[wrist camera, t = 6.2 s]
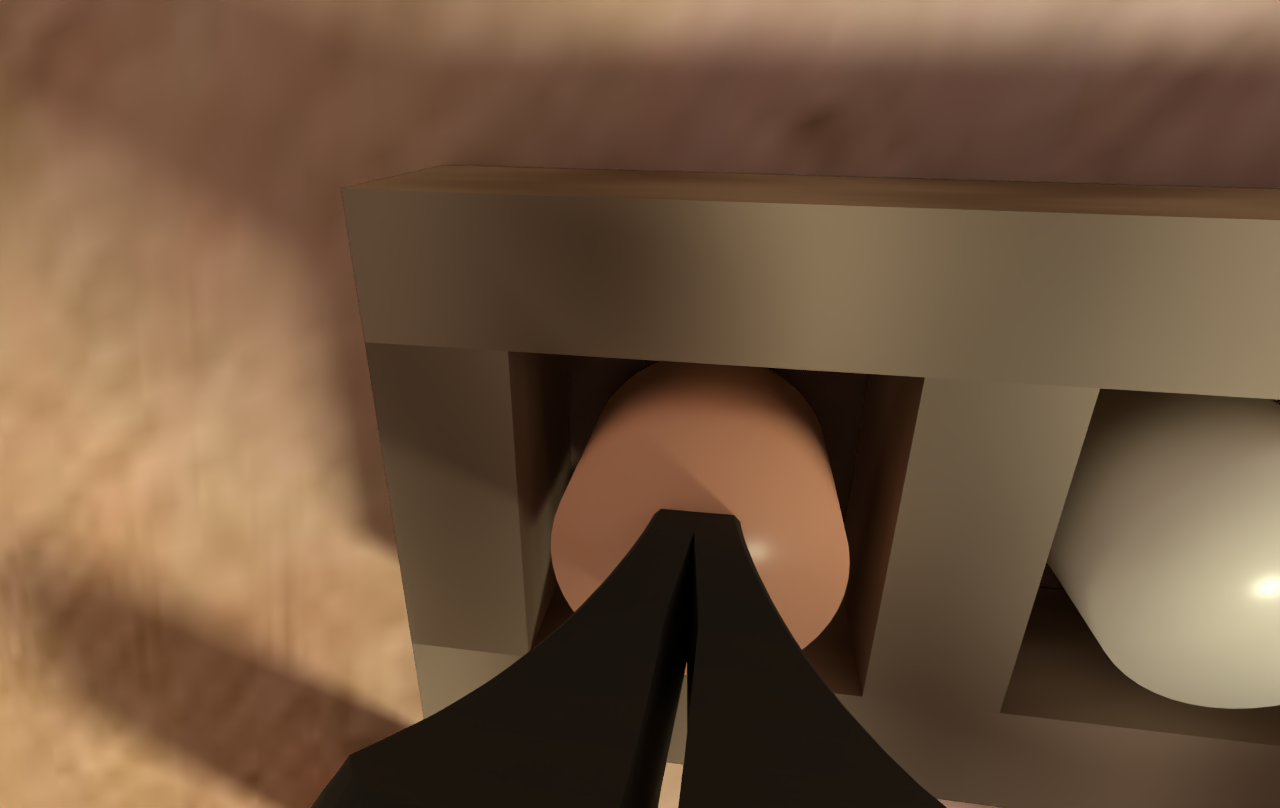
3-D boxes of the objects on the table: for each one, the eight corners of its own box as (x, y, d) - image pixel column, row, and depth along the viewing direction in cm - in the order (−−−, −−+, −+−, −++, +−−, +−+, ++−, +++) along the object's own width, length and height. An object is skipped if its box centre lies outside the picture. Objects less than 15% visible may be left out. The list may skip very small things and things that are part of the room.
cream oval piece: (1336, 378, 13) (1525, 470, 10) (1237, 592, 15) (1368, 725, 12) (1052, 362, 14) (1144, 443, 10) (995, 569, 16) (1058, 689, 12)
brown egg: (842, 361, 13) (870, 442, 10) (812, 570, 16) (828, 692, 12) (590, 346, 14) (544, 418, 11) (593, 549, 16) (555, 659, 13)
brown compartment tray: (1608, 198, 12) (1989, 244, 8) (1323, 702, 16) (1484, 872, 13) (443, 165, 14) (340, 188, 11) (486, 609, 19) (425, 729, 15)
